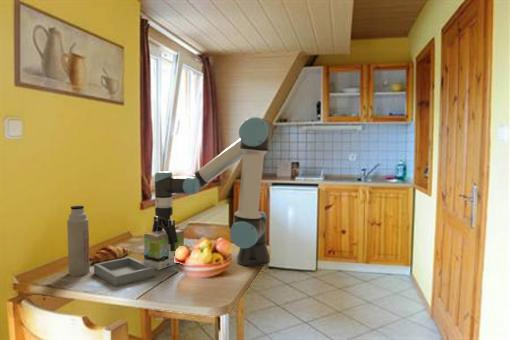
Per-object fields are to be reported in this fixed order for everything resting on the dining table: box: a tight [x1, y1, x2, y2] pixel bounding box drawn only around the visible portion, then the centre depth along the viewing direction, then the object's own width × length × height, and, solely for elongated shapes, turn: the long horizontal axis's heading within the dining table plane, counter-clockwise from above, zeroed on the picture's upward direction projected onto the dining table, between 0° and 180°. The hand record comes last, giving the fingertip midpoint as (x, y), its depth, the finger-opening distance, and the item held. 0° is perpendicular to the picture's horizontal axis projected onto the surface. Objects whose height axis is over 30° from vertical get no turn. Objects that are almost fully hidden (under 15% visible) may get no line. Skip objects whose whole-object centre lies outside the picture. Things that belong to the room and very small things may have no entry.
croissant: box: [89, 245, 130, 264], centre depth 185 cm, size 21×10×8 cm, turn 147°
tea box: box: [143, 229, 185, 271], centre depth 176 cm, size 15×10×15 cm, turn 146°
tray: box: [93, 256, 156, 288], centre depth 161 cm, size 21×16×4 cm
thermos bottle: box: [66, 205, 91, 277], centre depth 164 cm, size 8×8×28 cm
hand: (164, 255), depth 176 cm, fingers closed on tea box, 11 cm apart
